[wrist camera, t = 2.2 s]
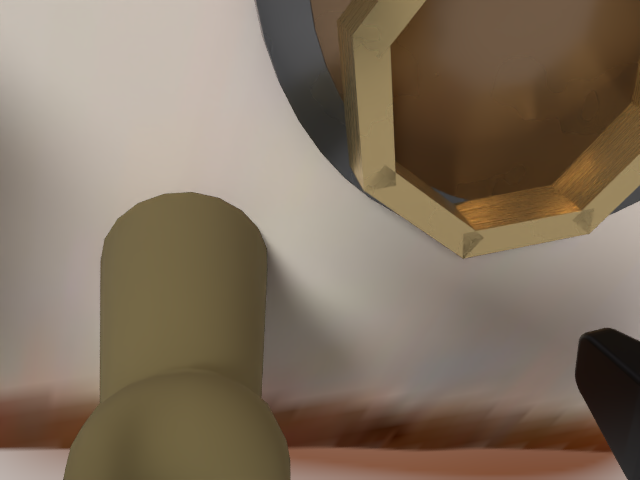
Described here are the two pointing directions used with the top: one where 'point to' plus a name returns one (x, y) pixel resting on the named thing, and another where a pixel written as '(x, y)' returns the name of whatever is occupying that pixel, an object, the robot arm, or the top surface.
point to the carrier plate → (470, 109)
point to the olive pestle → (181, 350)
